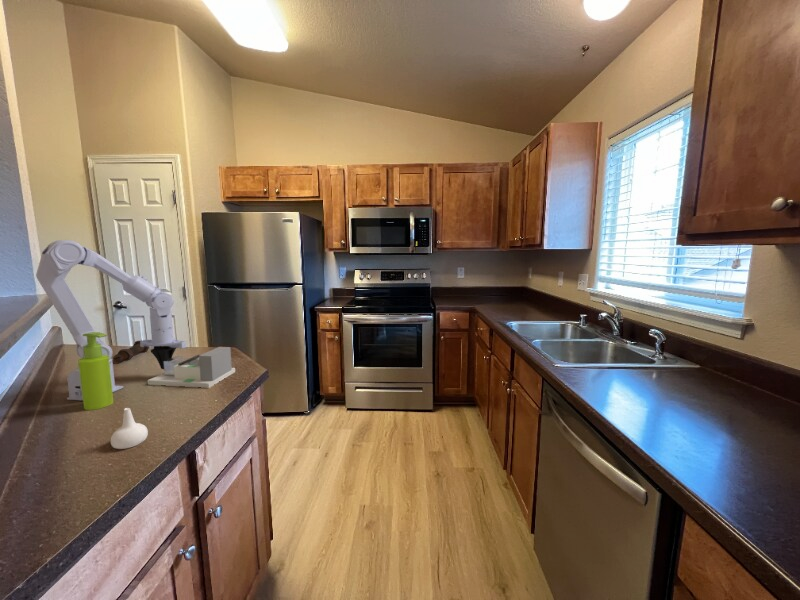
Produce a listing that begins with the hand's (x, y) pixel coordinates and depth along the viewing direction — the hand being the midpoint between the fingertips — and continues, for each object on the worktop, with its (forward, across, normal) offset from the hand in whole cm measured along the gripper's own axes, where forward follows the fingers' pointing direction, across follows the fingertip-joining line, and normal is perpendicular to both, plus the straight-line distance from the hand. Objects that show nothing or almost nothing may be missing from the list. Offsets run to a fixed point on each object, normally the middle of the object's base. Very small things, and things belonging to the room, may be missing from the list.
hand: (165, 368), depth 108 cm
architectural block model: (+3, -10, 0) cm, 10 cm away
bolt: (+3, +29, -16) cm, 33 cm away
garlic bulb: (+3, -22, +36) cm, 42 cm away
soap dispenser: (+3, +1, +21) cm, 21 cm away
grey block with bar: (+1, -6, 0) cm, 6 cm away
